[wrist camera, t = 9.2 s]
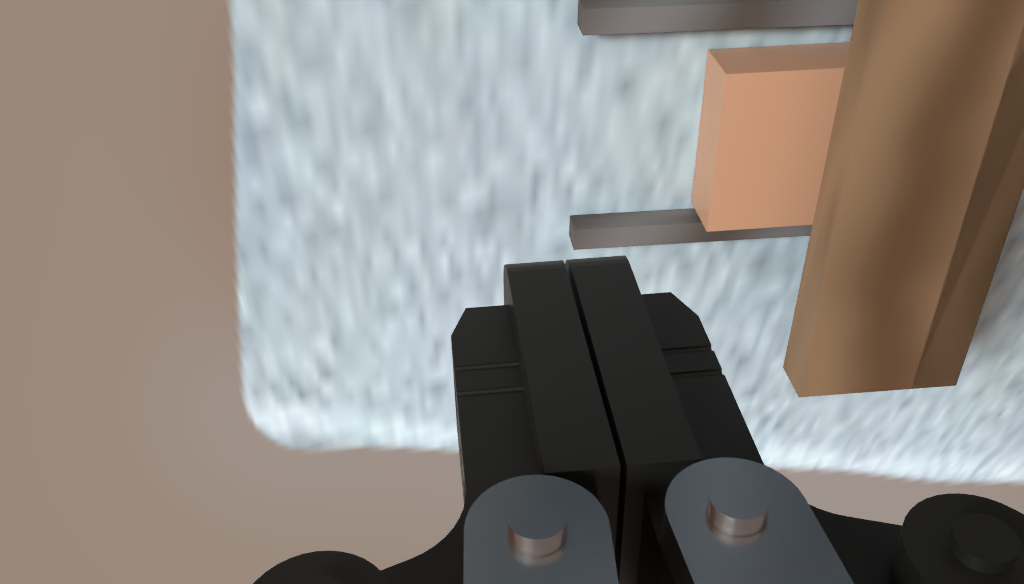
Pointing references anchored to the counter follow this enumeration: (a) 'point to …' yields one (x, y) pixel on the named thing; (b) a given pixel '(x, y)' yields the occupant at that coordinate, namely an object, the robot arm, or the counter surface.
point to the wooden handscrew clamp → (876, 181)
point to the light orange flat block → (765, 134)
